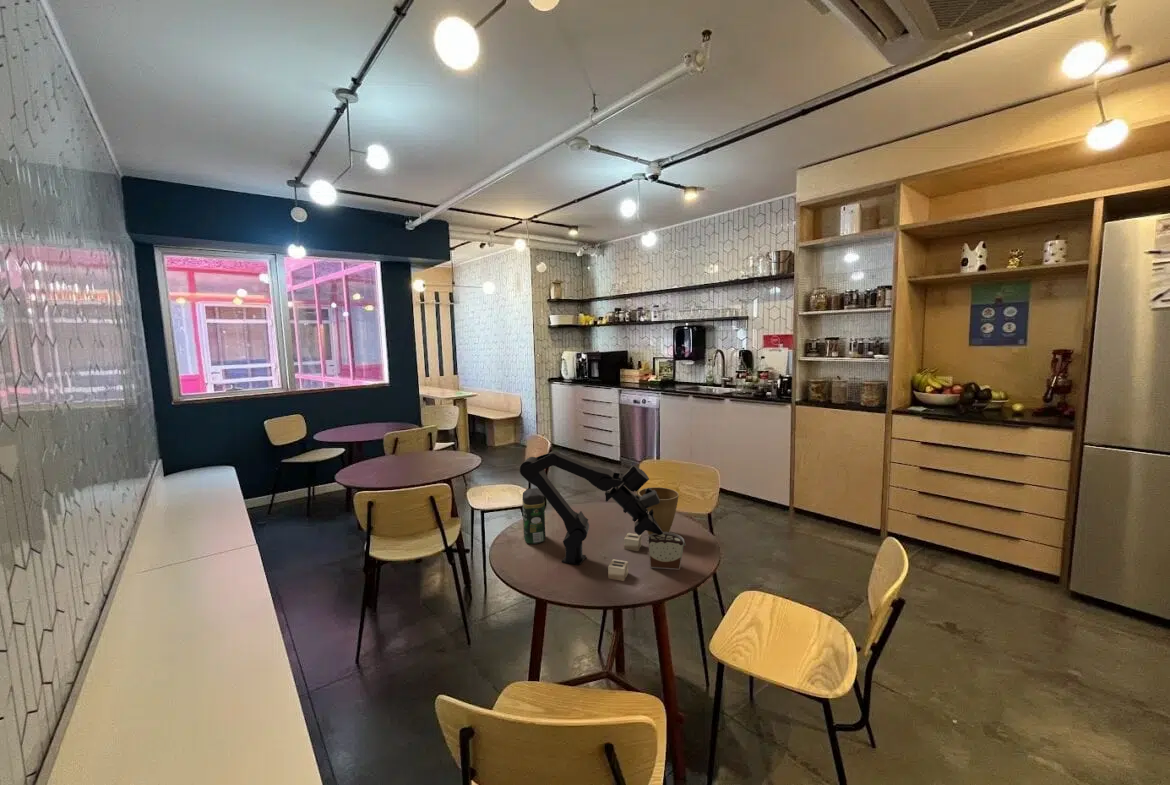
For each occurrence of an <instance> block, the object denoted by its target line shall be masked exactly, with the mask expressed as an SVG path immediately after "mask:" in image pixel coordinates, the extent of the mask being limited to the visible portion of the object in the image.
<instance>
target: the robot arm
mask: <svg viewBox="0 0 1170 785" xmlns="http://www.w3.org/2000/svg"><path fill="white" fill-rule="evenodd" d="M552 466H554V467H556V468H558V469H561V470H563V471H565V472H569V473H571V474H572V475H576V476H578V477H580V478H582V479H585V480H586V481H588V482H589V483H590V484H591V485H592V486H594V487H595V488H597V489H598V490H600V491H602V492H604V496H605V502H606V503H607V502H608V501H609V500H610V499H613V501H615V503H616V504H617V505H619V507H621V508H622V511H623V513H624V514H626V513H627V514H628V515H629V516H630V517H631V518H632V519H631V520H632V521H633V522H634V529H633V530H634V534H638V535H642V534H643V533H644V532H645V531H650V532H653V533H656V534H659V535H662V534H663V531H662V530H661V528H660V527H659V525H658V524H657V522H656V520H655V519H654V516H653V509H652V510H651V511H650V512H649V511H647V510H648V509H647V508H649V507H651V506H653V505H657V504H659V503H660V499H659V497H658V495H657V492H656V491H655V490H652V489H651V488H652V487H647V489H645V488H644V489H645V494H643V496H641V497H639V494H636V493H635V494H634V492H639V491H640V490H641V488H642V487H643V486H644V485H645V484H646V483H647V482H648V481H649V480H650V478H649V476H648V475H647V473H646V472H645V471H644V470H643V469H641V468H640V467H638V466H637V465H635V464H632V465H631V466H630V468H628V470H627V471H626V472H625V473H620V472H613V470H612V469H609V468H605V467H600V466H592V465H589V464H586V463H584V462H581V461H579V460H576V459H574V458H572V457H569V456H567V455H564V454H562V453H560V452H558V451H556V450H552V451H550V452H547V453H545V454H541V455H539V456H537V457H535V456H529V457H527V458H526V459H525V460H524V461H523V462H522V464H521V465H520V466H519V473H520V475H521V476H522V478H524V479H525V480H526V481H527V482H528V483H529V484H531V485H533V486H535V487H536V488H537V489H539V490H540V491H541V493H542V494H543V495H544V499H546V500H547V502H548V503H549V505H551V507H552V508H553V509H554V511H556V513H557V514H558V516H559V517H560V518H561V520H562V521H563V523H564V526H565V530H566V534H565V535H564V538H563V540H562V543H563V546H564V549H565V553H564V554H565V556H564V557H563V558H562V560H561V563H565V564H571V565H577V566H581V564H582V563H583V562H584V561H585V559H586V558H587V555H586V554H583V541H585V540H586V539H587V537H588V534H589V531H590V530H589V529H590V523H589V518H587V517H586V516H585V514H584V512H583V511H582V510H580V511H579V512H577V511H575V510H574V509H573V508H572V507H571V506H570V505H569V503H568V502H567V501H566V499H565V498H564V497H563V496H562V495H561V493H560V492H559V491H558V489H557V488H556V487H555V485H554V484H553V483H552V481H551V480H550V479H549V478H548V475H547V473H546V471H545V470H546V469H548V468H550V467H552Z"/></svg>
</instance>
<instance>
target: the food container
mask: <svg viewBox="0 0 1170 785" xmlns="http://www.w3.org/2000/svg"><path fill="white" fill-rule="evenodd" d="M647 537H648V538H647V540H646V542H645V543H646V544H648V554H649V555H648V557H649V568H650V569H665V570H677V571H678V570H679V571H680V569H681V565H682V564H681V563H682V557H683V551H684V546H686V542H685V538H683V537H682V535H679V534H677V533H674V532H670V531H669V532H663V534H662V535H659V534H656V533H652V534H650V535H649V534H648V536H647Z"/></svg>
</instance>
